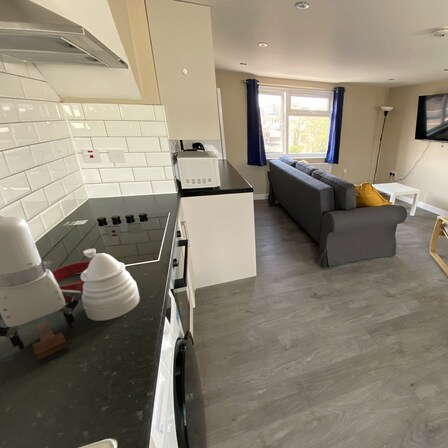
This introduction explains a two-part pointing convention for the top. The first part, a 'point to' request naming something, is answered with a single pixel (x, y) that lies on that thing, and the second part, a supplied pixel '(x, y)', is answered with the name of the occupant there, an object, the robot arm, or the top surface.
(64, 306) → the robot arm
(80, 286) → the bowl
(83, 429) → the top surface
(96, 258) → the honey pot
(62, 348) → the t-shaped block
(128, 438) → the top surface
